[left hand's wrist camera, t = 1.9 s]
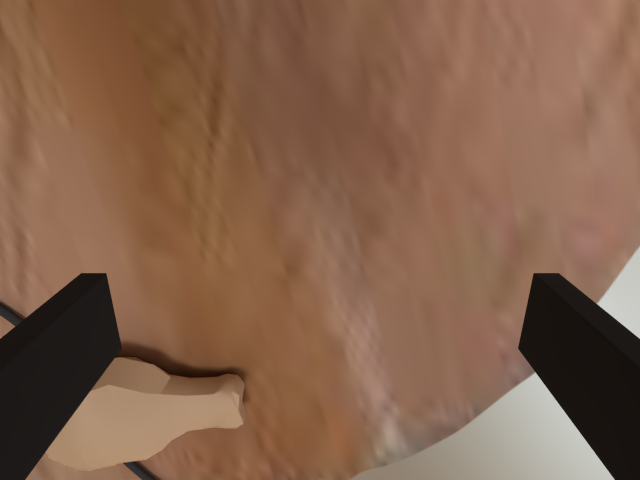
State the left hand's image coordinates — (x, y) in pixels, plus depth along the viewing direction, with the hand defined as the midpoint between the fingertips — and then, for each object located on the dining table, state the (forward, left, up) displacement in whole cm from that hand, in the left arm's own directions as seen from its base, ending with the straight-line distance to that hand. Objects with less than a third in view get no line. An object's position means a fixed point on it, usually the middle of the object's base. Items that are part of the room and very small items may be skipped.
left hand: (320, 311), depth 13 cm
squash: (+25, -17, -26) cm, 40 cm away
